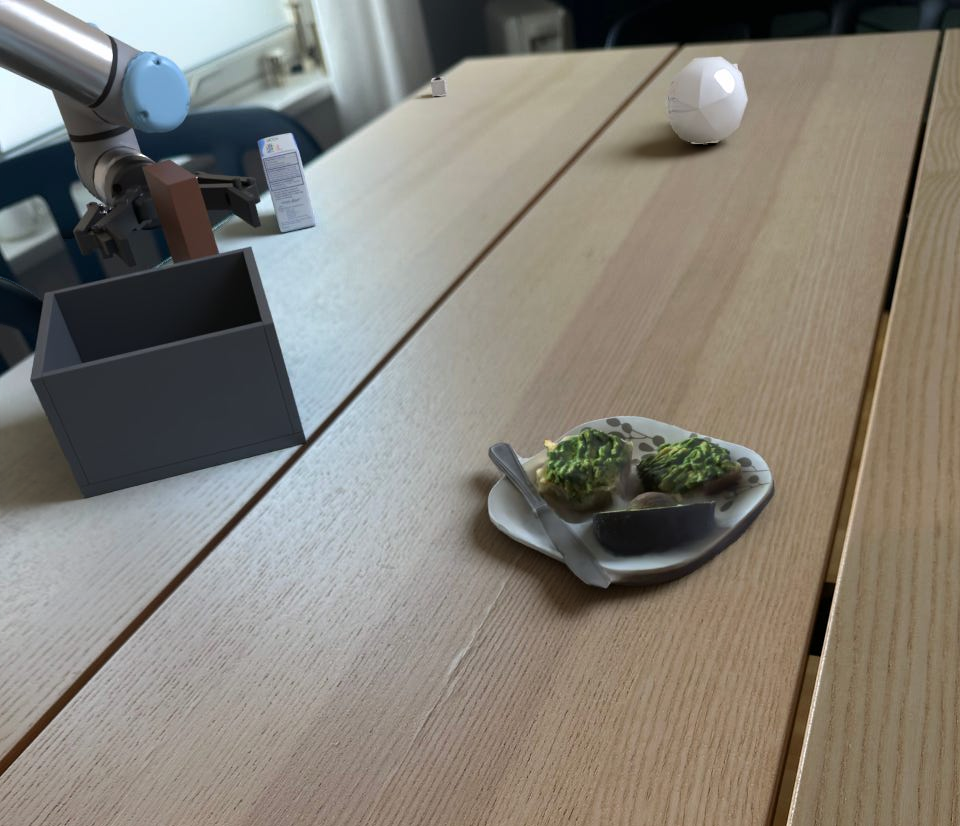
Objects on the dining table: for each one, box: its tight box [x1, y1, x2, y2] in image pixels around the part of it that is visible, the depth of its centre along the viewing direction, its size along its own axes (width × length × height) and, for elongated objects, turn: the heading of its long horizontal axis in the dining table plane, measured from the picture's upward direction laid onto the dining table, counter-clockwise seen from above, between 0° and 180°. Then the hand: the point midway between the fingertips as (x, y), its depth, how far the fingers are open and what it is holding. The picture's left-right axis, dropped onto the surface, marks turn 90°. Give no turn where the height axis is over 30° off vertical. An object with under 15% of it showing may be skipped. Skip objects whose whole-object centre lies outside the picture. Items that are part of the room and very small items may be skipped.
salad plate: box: [487, 415, 776, 589], centre depth 67 cm, size 19×18×5 cm
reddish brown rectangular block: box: [142, 159, 220, 264], centre depth 105 cm, size 3×9×12 cm, turn 30°
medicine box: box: [257, 132, 317, 233], centre depth 119 cm, size 8×4×9 cm, turn 13°
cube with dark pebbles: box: [430, 76, 448, 97], centre depth 158 cm, size 2×2×2 cm
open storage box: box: [29, 246, 307, 499], centre depth 83 cm, size 18×18×10 cm
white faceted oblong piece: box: [665, 56, 749, 143], centre depth 123 cm, size 9×10×15 cm
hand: (192, 233), depth 103 cm, fingers open, 13 cm apart
